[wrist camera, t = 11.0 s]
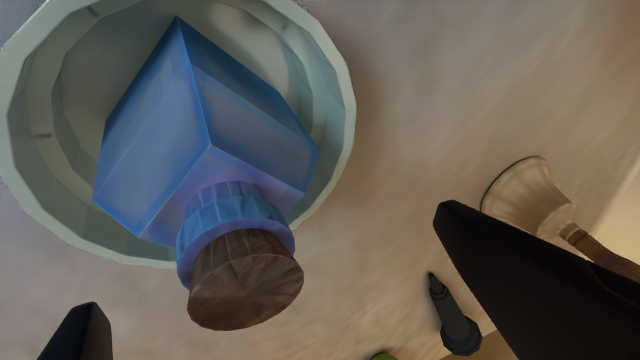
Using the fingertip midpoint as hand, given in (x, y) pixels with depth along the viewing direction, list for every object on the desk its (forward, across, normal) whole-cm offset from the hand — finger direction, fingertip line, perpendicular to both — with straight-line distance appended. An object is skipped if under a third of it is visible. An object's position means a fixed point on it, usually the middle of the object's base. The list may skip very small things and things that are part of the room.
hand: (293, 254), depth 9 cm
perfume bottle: (+12, +1, +1) cm, 12 cm away
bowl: (+13, +2, +2) cm, 13 cm away
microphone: (+13, -25, +35) cm, 45 cm away
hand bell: (+13, -28, +16) cm, 35 cm away
